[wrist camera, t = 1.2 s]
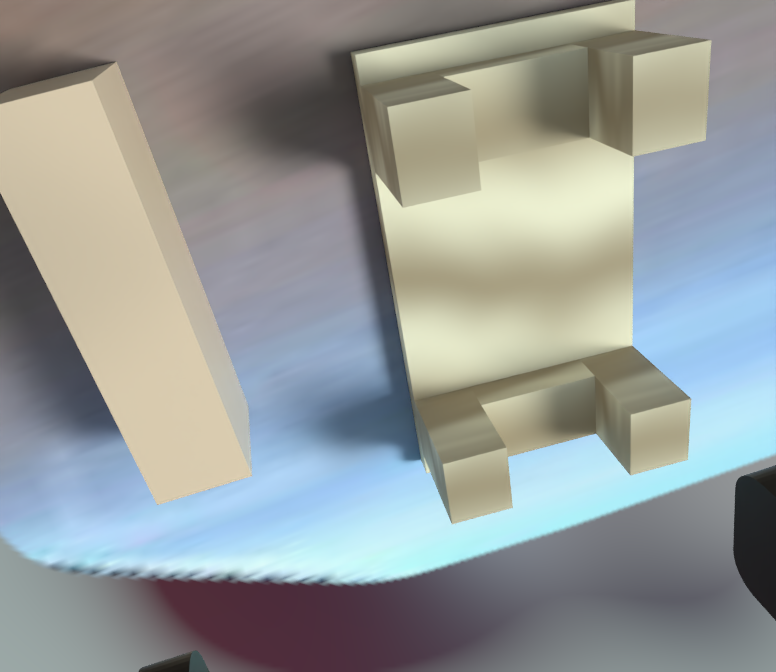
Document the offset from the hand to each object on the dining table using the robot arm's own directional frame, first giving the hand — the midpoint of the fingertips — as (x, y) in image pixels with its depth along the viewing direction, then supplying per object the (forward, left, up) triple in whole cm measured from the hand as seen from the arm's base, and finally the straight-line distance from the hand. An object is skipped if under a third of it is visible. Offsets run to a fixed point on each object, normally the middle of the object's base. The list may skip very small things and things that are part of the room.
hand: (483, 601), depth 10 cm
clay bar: (+1, -7, -19) cm, 20 cm away
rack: (+4, +7, -19) cm, 21 cm away
